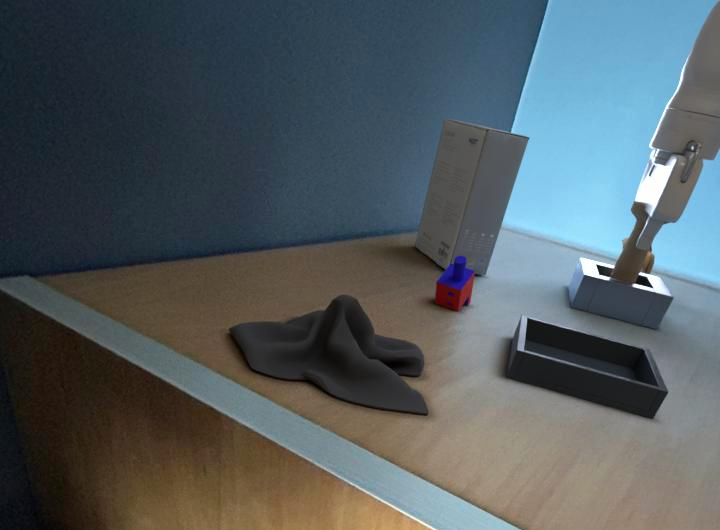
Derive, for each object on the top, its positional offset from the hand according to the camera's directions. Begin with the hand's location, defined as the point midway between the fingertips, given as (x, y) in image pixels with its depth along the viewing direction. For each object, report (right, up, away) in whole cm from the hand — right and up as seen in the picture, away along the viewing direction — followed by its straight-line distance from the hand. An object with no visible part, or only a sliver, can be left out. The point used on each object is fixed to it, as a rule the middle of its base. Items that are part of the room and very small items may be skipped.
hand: (638, 245), depth 88 cm
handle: (-2, -8, +6) cm, 10 cm away
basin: (-19, -25, -22) cm, 39 cm away
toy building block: (-31, -13, -9) cm, 35 cm away
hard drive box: (-27, +3, +12) cm, 30 cm away
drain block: (-2, -7, +6) cm, 10 cm away
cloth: (-46, -26, -31) cm, 61 cm away
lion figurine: (+9, +2, +22) cm, 24 cm away
